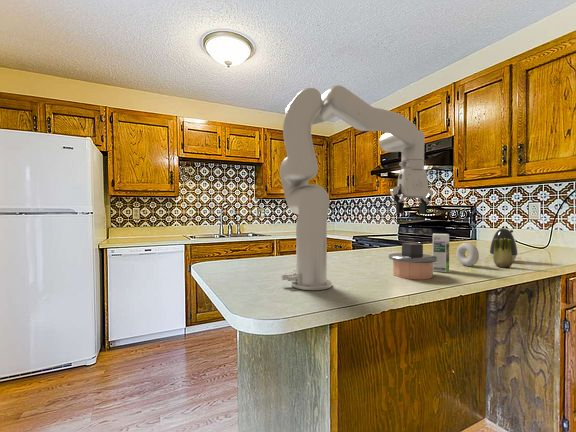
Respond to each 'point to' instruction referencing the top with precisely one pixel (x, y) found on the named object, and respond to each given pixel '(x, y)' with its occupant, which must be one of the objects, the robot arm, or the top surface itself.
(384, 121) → the robot arm
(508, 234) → the dark glossy dome
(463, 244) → the donut
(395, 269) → the bowl
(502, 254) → the fennel bulb
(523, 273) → the top surface
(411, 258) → the lid
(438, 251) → the syrup box
